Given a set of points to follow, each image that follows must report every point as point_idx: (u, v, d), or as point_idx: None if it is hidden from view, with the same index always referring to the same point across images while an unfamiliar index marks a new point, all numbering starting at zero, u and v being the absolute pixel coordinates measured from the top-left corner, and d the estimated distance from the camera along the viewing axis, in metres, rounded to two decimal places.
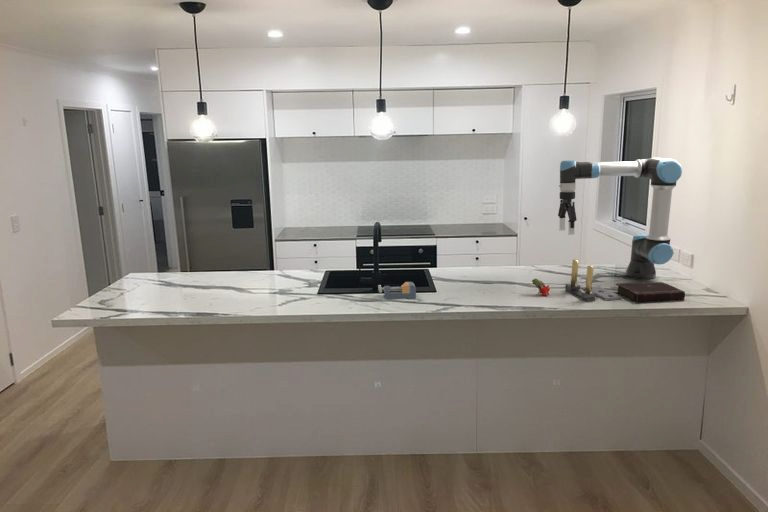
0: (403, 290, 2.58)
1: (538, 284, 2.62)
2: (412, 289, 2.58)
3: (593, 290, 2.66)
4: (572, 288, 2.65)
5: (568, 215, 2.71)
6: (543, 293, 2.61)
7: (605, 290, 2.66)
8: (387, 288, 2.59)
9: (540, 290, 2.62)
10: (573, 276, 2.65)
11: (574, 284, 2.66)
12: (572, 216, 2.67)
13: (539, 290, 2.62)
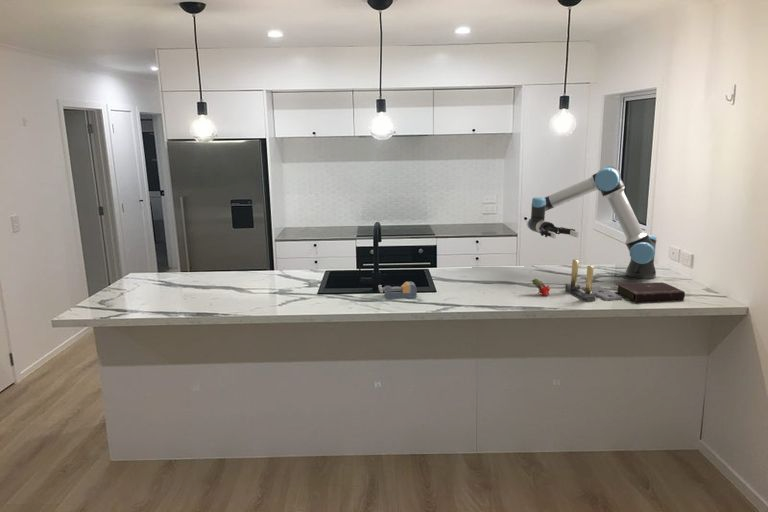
0: (404, 290, 2.58)
1: (538, 284, 2.62)
2: (412, 289, 2.59)
3: (593, 290, 2.66)
4: (572, 288, 2.65)
5: None
6: (543, 293, 2.61)
7: (605, 290, 2.66)
8: (388, 288, 2.59)
9: (540, 290, 2.62)
10: (573, 276, 2.65)
11: (574, 284, 2.66)
12: (541, 233, 2.83)
13: (539, 290, 2.62)
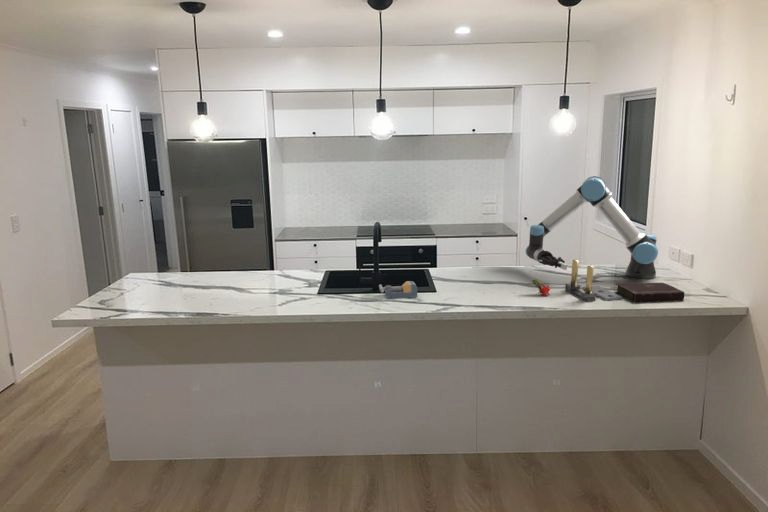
0: (404, 289, 2.59)
1: (538, 284, 2.62)
2: (413, 288, 2.59)
3: (593, 290, 2.66)
4: (572, 288, 2.65)
5: None
6: (543, 293, 2.61)
7: (605, 290, 2.66)
8: (388, 288, 2.60)
9: (540, 290, 2.62)
10: (573, 276, 2.65)
11: (574, 284, 2.66)
12: (549, 264, 2.82)
13: (539, 290, 2.62)
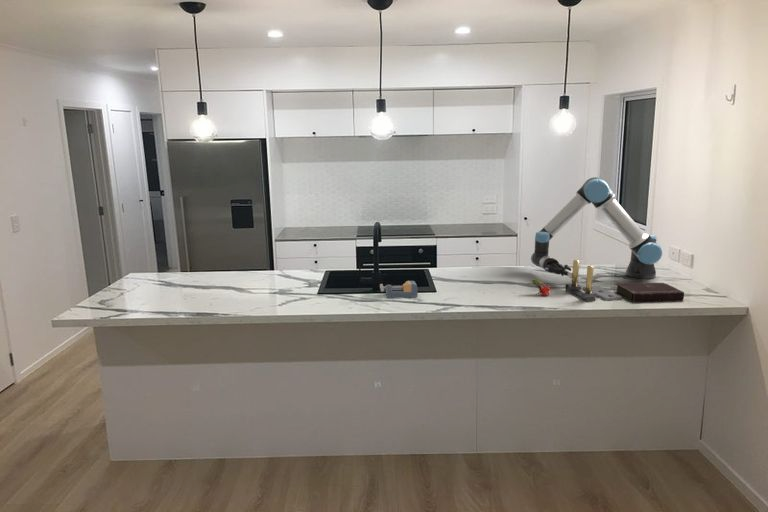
0: (405, 289, 2.60)
1: (538, 284, 2.62)
2: (413, 288, 2.60)
3: (593, 290, 2.66)
4: (573, 288, 2.65)
5: None
6: (543, 293, 2.61)
7: (605, 290, 2.66)
8: (389, 287, 2.61)
9: (540, 290, 2.62)
10: (574, 276, 2.64)
11: (575, 284, 2.65)
12: (555, 272, 2.75)
13: (539, 290, 2.62)
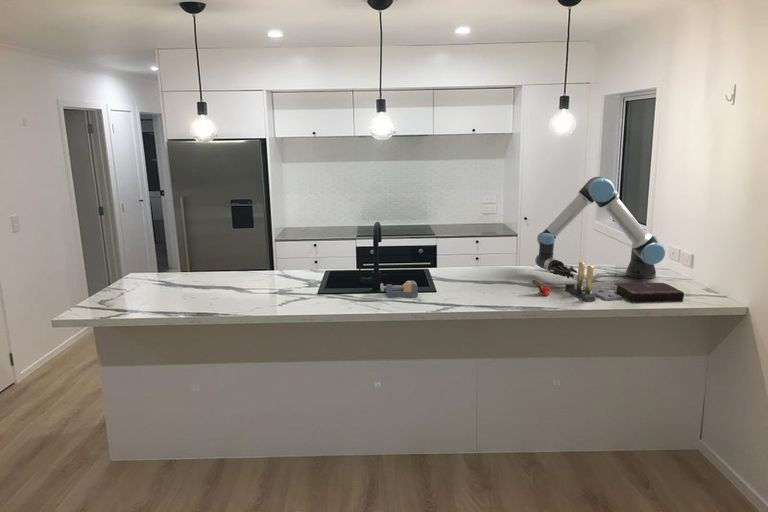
0: (405, 289, 2.60)
1: (538, 284, 2.62)
2: (413, 288, 2.60)
3: (593, 290, 2.66)
4: (578, 291, 2.60)
5: None
6: (543, 293, 2.61)
7: (605, 290, 2.66)
8: (389, 287, 2.62)
9: (540, 290, 2.62)
10: (579, 279, 2.60)
11: (580, 287, 2.60)
12: (561, 274, 2.70)
13: (539, 290, 2.62)
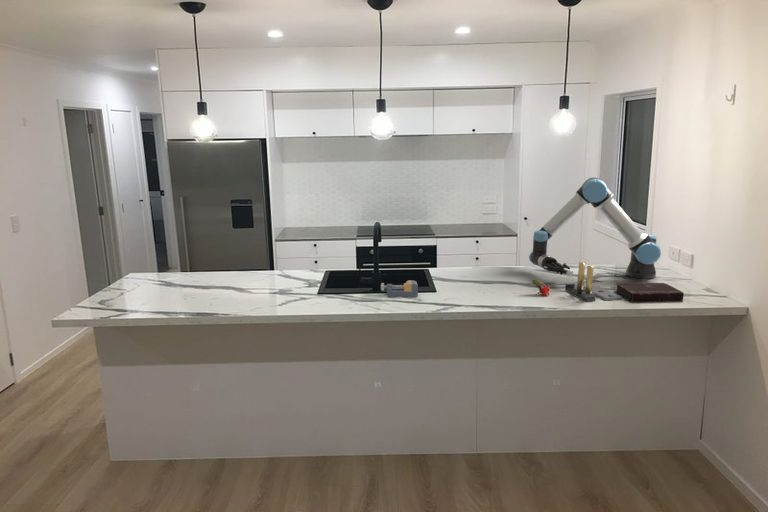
0: (405, 288, 2.61)
1: (538, 284, 2.62)
2: (413, 287, 2.61)
3: (593, 290, 2.66)
4: (578, 291, 2.60)
5: None
6: (543, 293, 2.61)
7: (605, 290, 2.66)
8: (389, 286, 2.63)
9: (540, 290, 2.62)
10: (579, 279, 2.60)
11: (580, 287, 2.60)
12: (554, 271, 2.77)
13: (539, 290, 2.62)
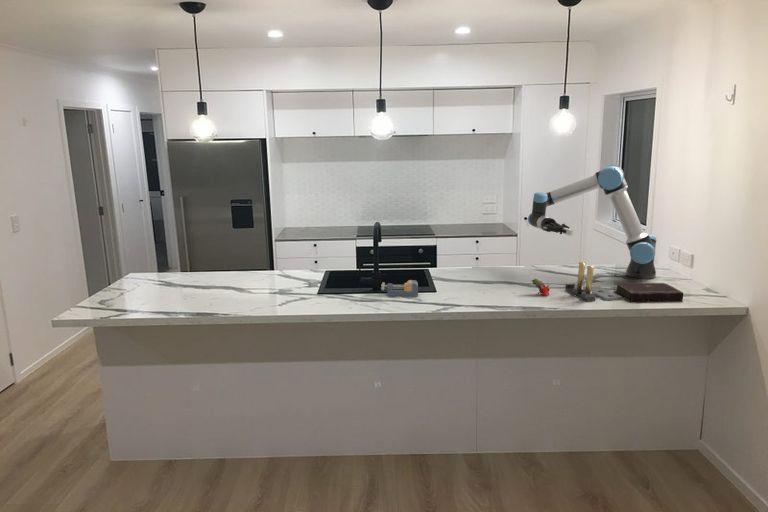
0: (405, 288, 2.61)
1: (538, 284, 2.62)
2: (414, 287, 2.61)
3: (593, 290, 2.66)
4: (578, 291, 2.60)
5: None
6: (543, 293, 2.61)
7: (605, 290, 2.66)
8: (390, 286, 2.63)
9: (540, 290, 2.62)
10: (579, 279, 2.60)
11: (580, 287, 2.60)
12: (554, 230, 2.82)
13: (539, 290, 2.62)
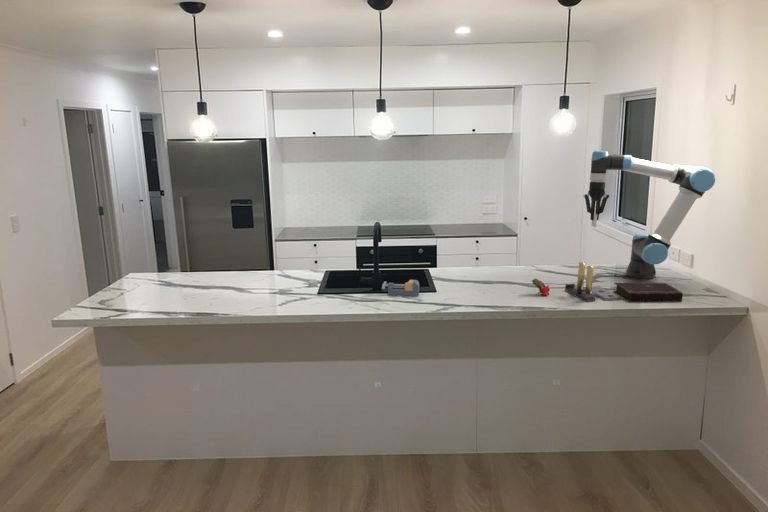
0: (406, 287, 2.62)
1: (538, 284, 2.62)
2: (414, 287, 2.62)
3: (593, 290, 2.66)
4: (578, 291, 2.60)
5: None
6: (543, 293, 2.61)
7: (605, 290, 2.66)
8: (391, 285, 2.65)
9: (540, 290, 2.62)
10: (579, 279, 2.60)
11: (580, 287, 2.60)
12: (587, 208, 2.82)
13: (539, 290, 2.62)
